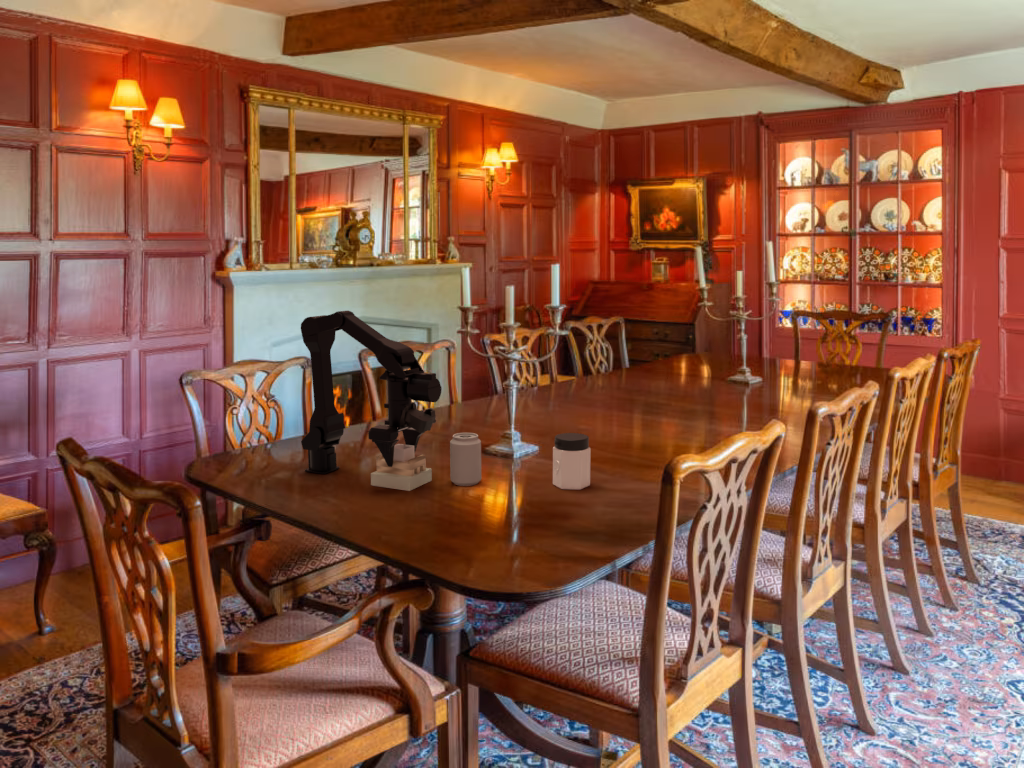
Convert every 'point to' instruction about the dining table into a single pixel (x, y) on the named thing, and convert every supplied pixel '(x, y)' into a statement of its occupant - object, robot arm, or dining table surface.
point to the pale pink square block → (403, 452)
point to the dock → (401, 480)
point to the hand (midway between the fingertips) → (401, 462)
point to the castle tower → (402, 466)
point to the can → (465, 459)
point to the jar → (571, 461)
